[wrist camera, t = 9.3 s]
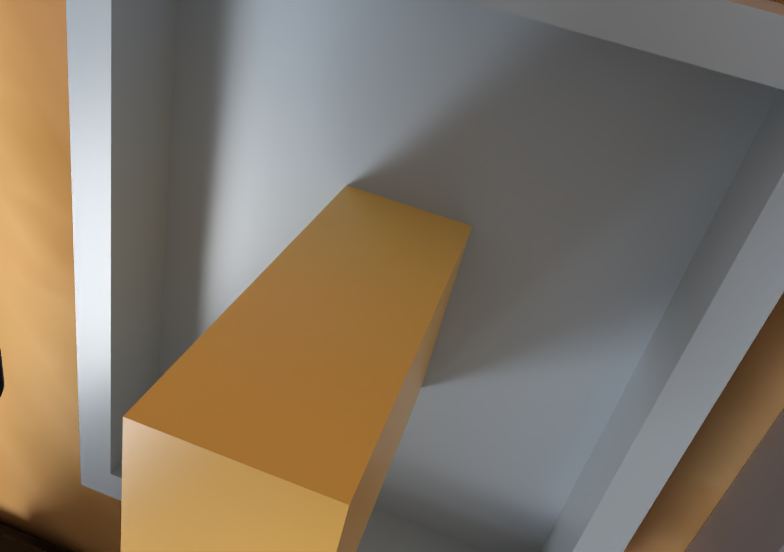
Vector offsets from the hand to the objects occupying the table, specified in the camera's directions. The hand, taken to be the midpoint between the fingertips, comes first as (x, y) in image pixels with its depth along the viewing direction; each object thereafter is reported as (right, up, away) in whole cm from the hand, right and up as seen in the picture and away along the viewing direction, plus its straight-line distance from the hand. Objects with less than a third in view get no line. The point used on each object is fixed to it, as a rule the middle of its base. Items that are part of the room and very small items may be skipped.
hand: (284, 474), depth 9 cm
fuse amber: (+1, +2, +5) cm, 5 cm away
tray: (+2, +3, +5) cm, 6 cm away
